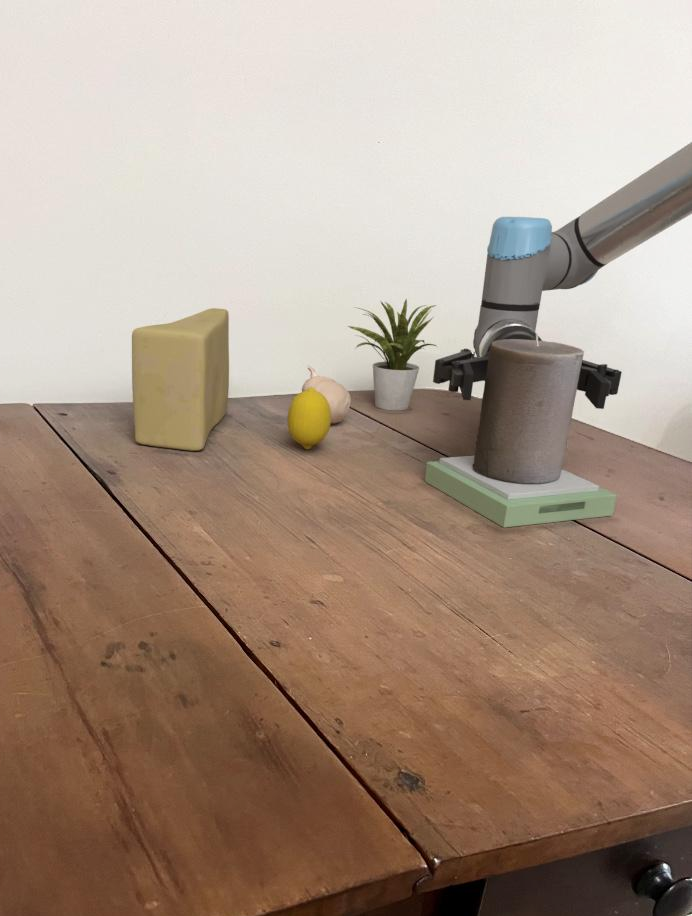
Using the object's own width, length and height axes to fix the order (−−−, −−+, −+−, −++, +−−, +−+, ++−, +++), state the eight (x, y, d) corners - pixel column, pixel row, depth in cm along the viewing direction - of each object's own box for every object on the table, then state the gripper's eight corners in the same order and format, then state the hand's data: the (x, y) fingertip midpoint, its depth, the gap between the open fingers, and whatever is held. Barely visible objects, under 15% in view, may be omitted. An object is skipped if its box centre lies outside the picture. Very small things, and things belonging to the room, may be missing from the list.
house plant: (383, 390, 153) (393, 288, 146) (455, 405, 144) (470, 297, 137) (330, 403, 143) (338, 293, 136) (404, 420, 135) (416, 304, 128)
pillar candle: (459, 473, 101) (479, 333, 95) (488, 454, 109) (508, 323, 103) (547, 490, 97) (574, 345, 90) (571, 469, 104) (597, 333, 98)
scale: (612, 515, 99) (618, 489, 98) (503, 528, 95) (508, 500, 93) (523, 472, 113) (527, 448, 112) (424, 481, 108) (427, 456, 107)
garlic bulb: (327, 415, 136) (331, 360, 133) (356, 425, 131) (361, 368, 128) (292, 420, 132) (295, 364, 129) (321, 431, 128) (325, 373, 124)
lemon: (304, 457, 116) (308, 394, 112) (277, 447, 120) (280, 385, 116) (337, 451, 119) (342, 389, 115) (309, 441, 123) (313, 381, 119)
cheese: (191, 408, 137) (192, 304, 131) (253, 415, 135) (257, 309, 128) (130, 444, 118) (128, 324, 112) (201, 453, 116) (203, 331, 109)
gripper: (609, 392, 115) (651, 435, 96) (408, 379, 118) (410, 418, 99) (622, 330, 112) (668, 362, 93) (414, 319, 115) (418, 347, 96)
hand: (535, 391), depth 96 cm, fingers open, 13 cm apart
